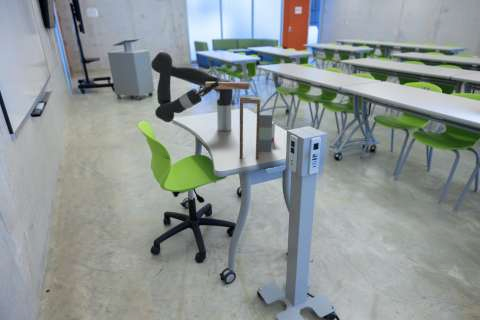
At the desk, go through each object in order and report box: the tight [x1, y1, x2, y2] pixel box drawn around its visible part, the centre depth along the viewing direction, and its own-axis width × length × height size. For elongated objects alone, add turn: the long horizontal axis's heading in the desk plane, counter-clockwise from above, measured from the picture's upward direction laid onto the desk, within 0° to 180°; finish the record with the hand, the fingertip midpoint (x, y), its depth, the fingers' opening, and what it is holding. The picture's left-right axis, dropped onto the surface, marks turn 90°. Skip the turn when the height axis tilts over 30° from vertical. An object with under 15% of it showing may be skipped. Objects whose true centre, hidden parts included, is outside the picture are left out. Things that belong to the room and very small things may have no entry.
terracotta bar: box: [205, 81, 250, 90], centre depth 157 cm, size 3×22×3 cm, turn 87°
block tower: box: [259, 111, 273, 152], centre depth 173 cm, size 6×8×21 cm
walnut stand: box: [239, 96, 261, 160], centre depth 161 cm, size 6×10×32 cm, turn 87°
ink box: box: [271, 120, 276, 143], centre depth 188 cm, size 9×5×12 cm, turn 100°
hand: (218, 82), depth 156 cm, fingers closed on terracotta bar, 3 cm apart
